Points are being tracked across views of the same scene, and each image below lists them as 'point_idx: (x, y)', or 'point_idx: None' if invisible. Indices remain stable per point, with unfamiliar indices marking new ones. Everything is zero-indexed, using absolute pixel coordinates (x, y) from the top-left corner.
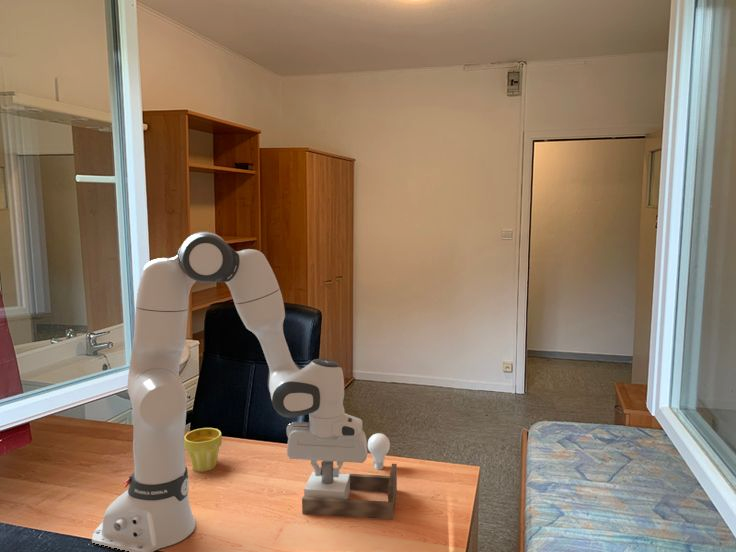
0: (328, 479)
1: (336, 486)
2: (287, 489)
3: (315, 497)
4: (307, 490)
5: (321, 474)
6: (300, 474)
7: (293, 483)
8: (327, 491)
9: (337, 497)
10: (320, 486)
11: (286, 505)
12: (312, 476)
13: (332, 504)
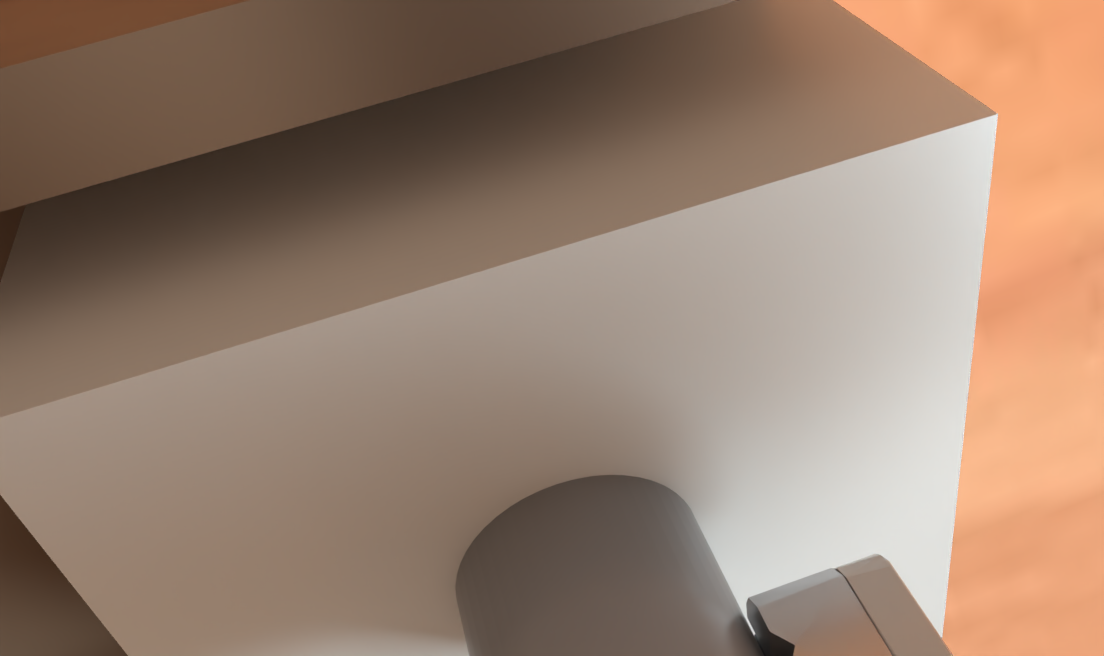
0: (541, 592)
1: (293, 513)
2: (1090, 339)
3: (630, 22)
4: (901, 124)
5: (760, 643)
6: (992, 599)
7: (1038, 457)
8: (405, 278)
9: (153, 276)
10: (652, 367)
11: (1059, 11)
12: (910, 559)
13: (123, 5)
